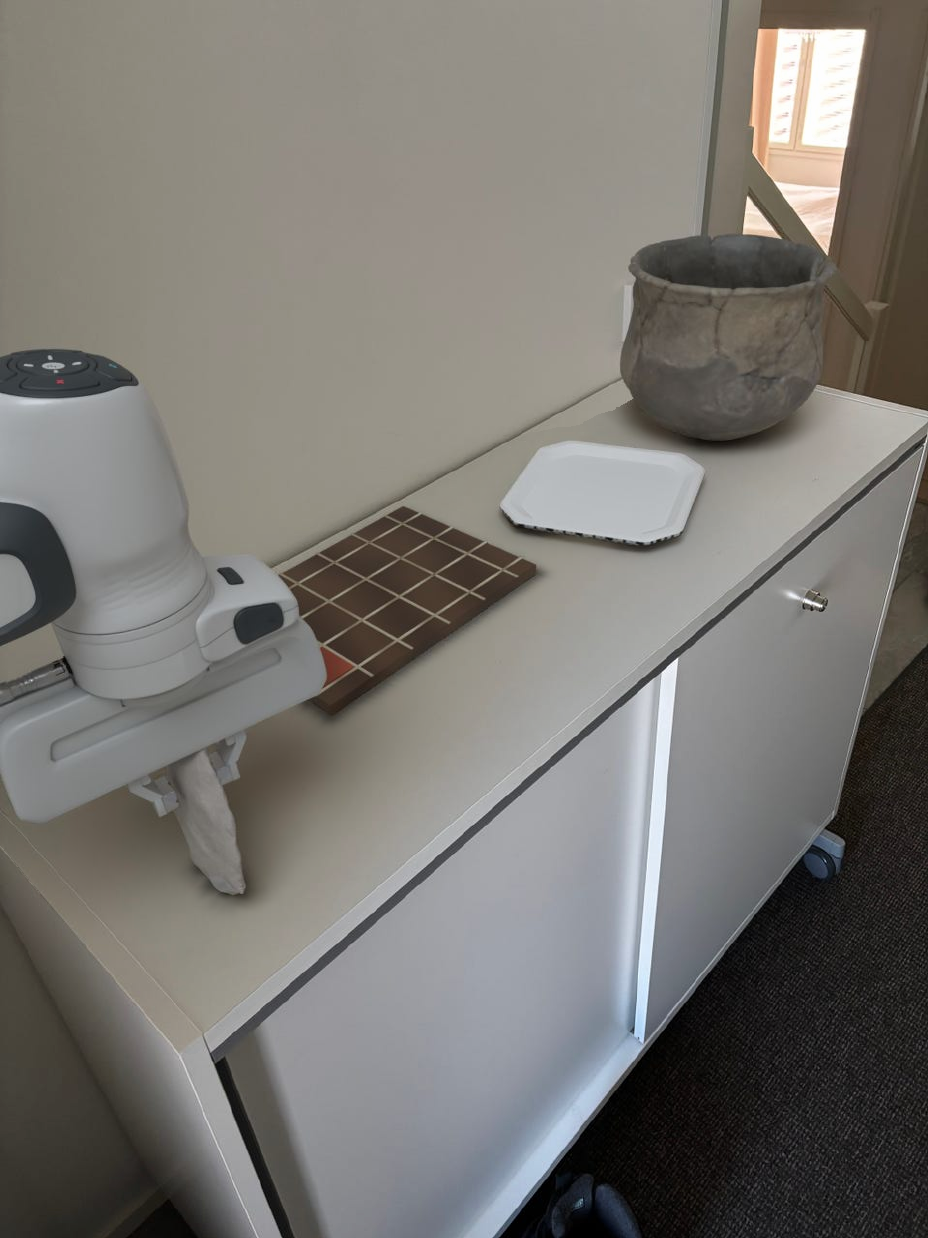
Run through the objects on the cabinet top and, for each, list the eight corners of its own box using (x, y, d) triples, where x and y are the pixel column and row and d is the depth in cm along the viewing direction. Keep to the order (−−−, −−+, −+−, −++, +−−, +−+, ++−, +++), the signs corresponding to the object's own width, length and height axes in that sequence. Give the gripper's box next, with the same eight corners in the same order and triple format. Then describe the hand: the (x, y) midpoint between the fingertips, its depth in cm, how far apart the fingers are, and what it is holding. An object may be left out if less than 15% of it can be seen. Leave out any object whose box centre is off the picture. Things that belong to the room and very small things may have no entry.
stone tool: (172, 859, 69) (114, 710, 60) (207, 832, 71) (157, 685, 62) (247, 927, 64) (196, 776, 55) (283, 897, 65) (240, 745, 56)
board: (331, 715, 80) (329, 704, 80) (202, 628, 92) (199, 617, 91) (536, 574, 96) (536, 562, 95) (404, 514, 107) (403, 503, 107)
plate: (709, 472, 111) (710, 455, 110) (674, 563, 96) (676, 545, 95) (545, 452, 118) (545, 436, 117) (489, 533, 103) (488, 516, 102)
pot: (844, 422, 120) (879, 251, 107) (739, 488, 108) (764, 305, 95) (687, 374, 135) (700, 220, 122) (579, 427, 123) (581, 263, 110)
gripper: (-37, 736, 47) (52, 903, 55) (320, 588, 55) (350, 752, 64) (-60, 673, 51) (26, 837, 59) (275, 545, 60) (309, 704, 68)
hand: (196, 792), depth 62 cm, fingers open, 3 cm apart
